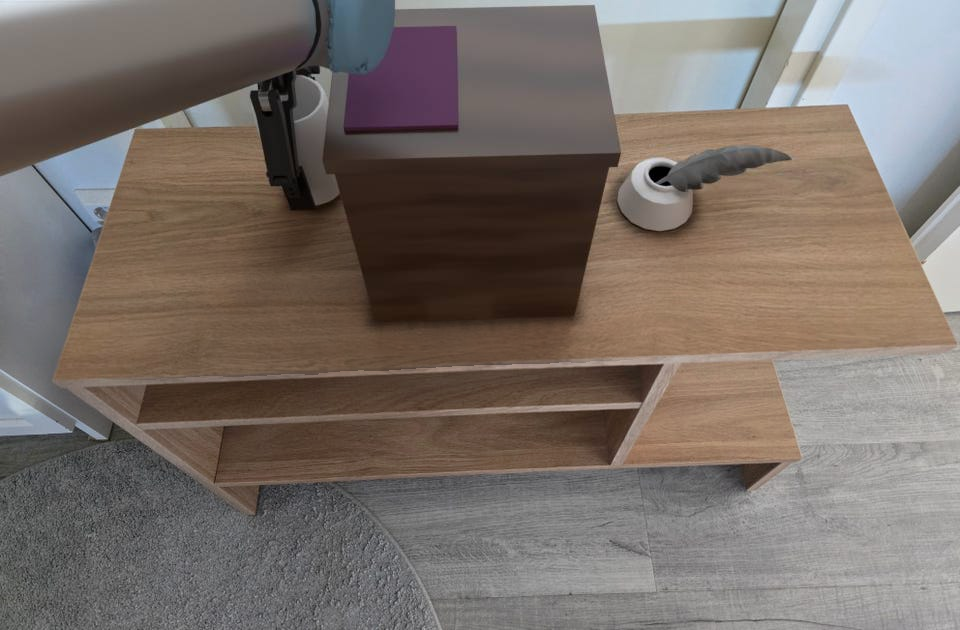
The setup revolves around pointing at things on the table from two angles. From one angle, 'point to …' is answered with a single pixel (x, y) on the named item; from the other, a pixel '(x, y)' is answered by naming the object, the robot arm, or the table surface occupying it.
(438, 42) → the purple rectangular slab
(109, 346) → the table surface
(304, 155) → the cup
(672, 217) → the inkwell
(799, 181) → the table surface
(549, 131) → the box
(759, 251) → the table surface
